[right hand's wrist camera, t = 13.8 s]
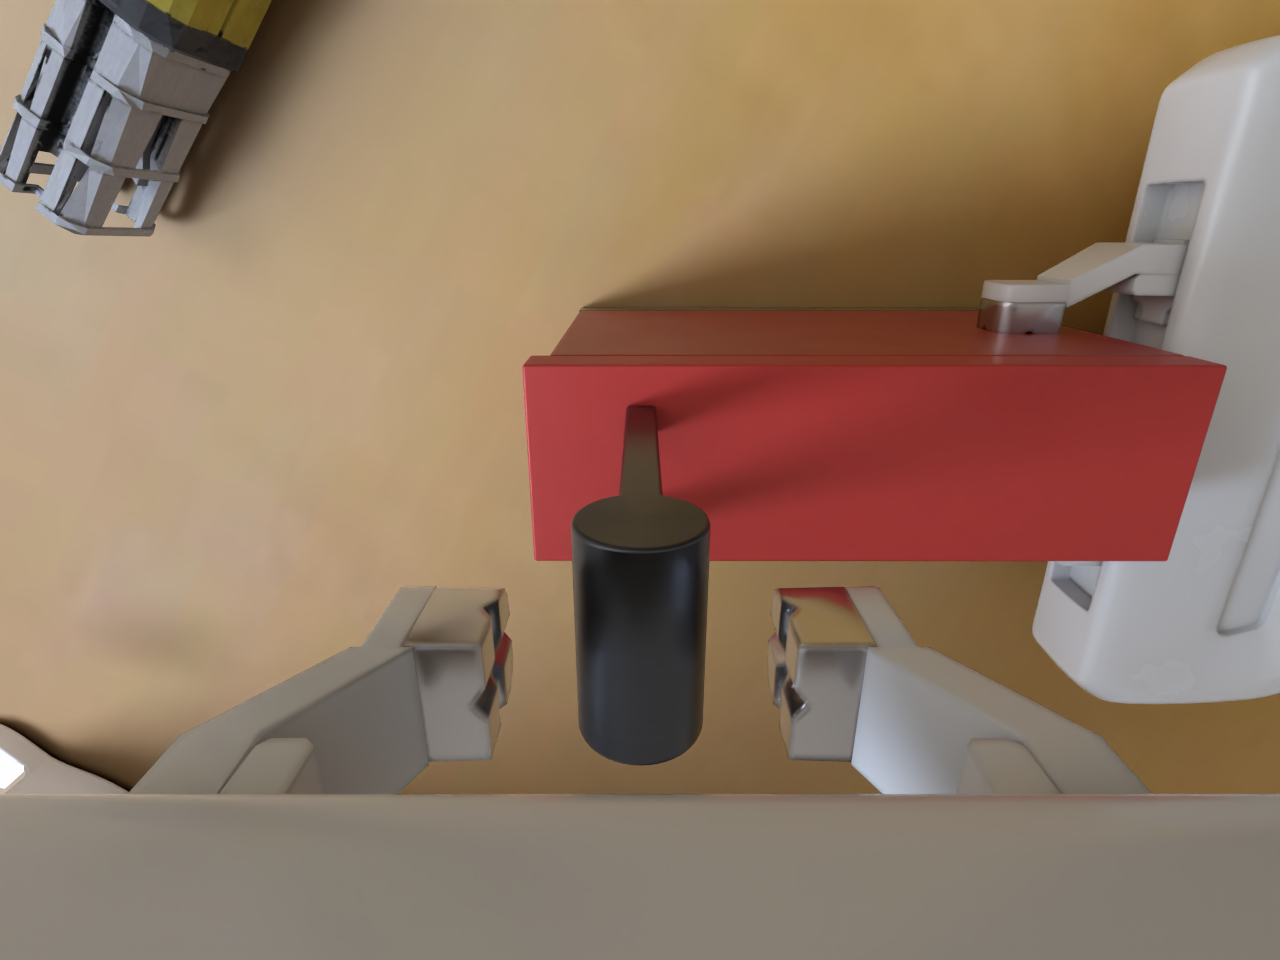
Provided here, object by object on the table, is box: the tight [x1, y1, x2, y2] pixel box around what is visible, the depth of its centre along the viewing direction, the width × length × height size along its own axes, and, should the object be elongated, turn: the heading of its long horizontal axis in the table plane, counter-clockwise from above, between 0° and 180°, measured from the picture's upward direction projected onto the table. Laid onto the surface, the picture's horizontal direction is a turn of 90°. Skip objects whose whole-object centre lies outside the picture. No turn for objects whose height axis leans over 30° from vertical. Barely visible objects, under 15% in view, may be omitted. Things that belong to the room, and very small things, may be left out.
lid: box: [523, 356, 1227, 765], centre depth 13 cm, size 16×5×9 cm, turn 90°
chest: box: [550, 308, 1184, 356], centre depth 22 cm, size 16×5×10 cm, turn 90°
